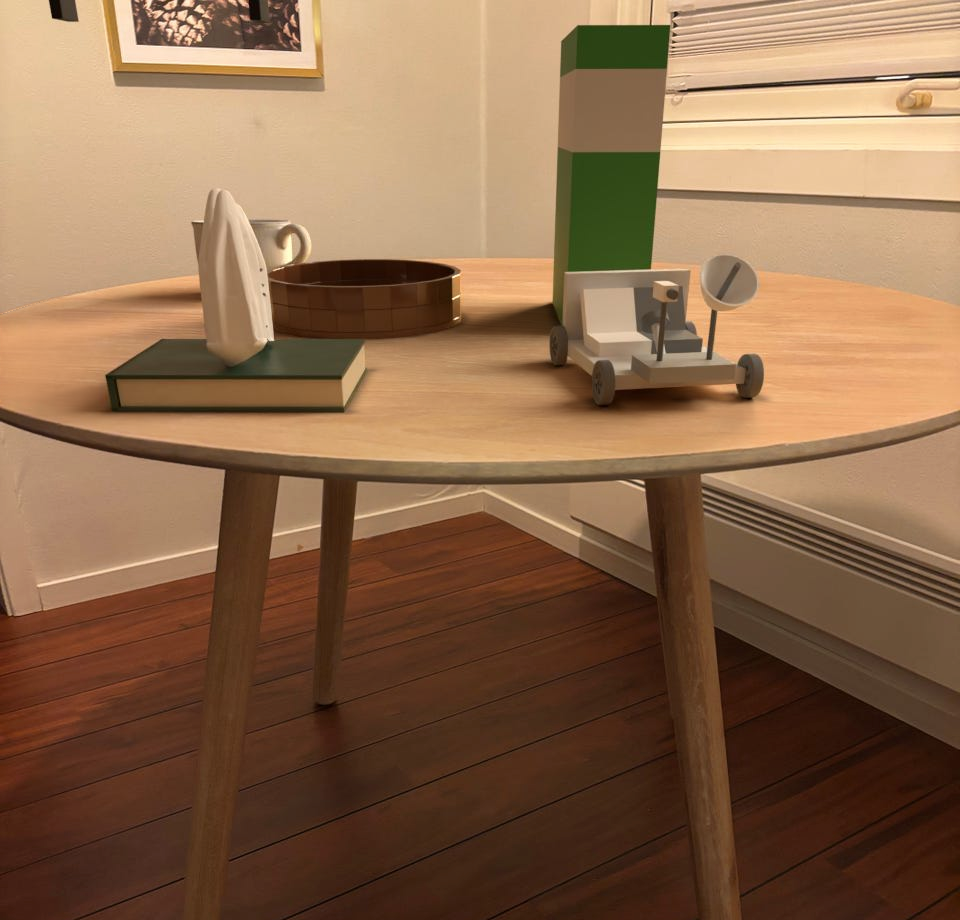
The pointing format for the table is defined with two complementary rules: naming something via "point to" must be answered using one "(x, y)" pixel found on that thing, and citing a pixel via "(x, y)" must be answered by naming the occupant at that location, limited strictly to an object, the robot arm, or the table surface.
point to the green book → (240, 378)
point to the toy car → (653, 328)
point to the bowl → (364, 298)
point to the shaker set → (232, 283)
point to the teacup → (271, 241)
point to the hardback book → (608, 148)
